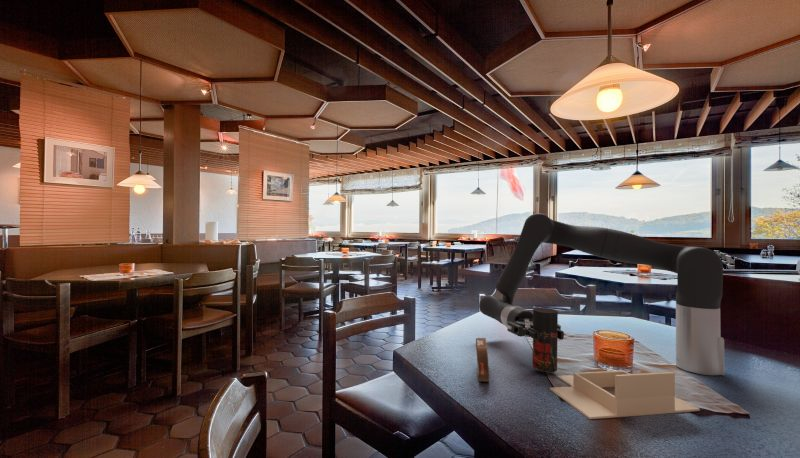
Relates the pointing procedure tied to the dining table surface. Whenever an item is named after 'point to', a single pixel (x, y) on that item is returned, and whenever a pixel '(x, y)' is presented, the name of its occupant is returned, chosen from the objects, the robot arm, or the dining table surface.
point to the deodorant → (545, 339)
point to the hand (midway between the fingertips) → (550, 336)
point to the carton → (622, 394)
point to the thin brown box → (482, 360)
